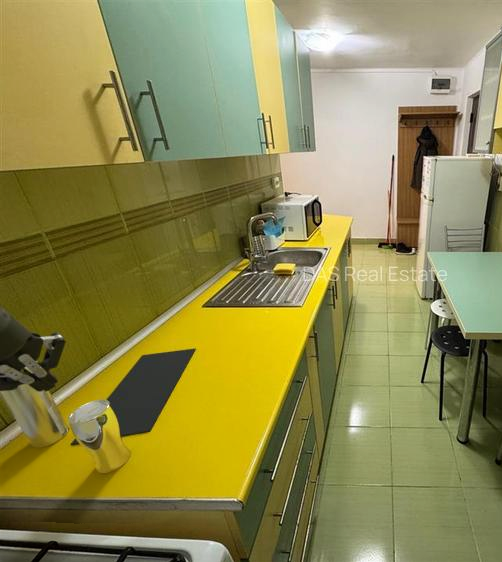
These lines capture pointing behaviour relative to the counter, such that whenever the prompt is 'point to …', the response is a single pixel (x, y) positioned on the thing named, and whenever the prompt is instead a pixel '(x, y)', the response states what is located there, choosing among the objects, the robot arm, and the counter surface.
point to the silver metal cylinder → (36, 415)
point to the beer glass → (100, 434)
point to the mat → (147, 390)
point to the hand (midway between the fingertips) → (49, 386)
